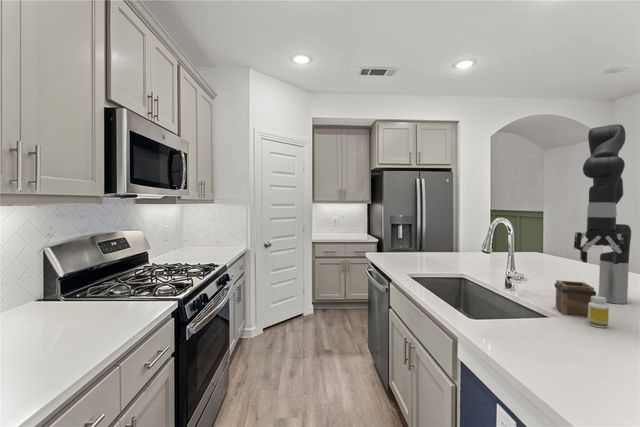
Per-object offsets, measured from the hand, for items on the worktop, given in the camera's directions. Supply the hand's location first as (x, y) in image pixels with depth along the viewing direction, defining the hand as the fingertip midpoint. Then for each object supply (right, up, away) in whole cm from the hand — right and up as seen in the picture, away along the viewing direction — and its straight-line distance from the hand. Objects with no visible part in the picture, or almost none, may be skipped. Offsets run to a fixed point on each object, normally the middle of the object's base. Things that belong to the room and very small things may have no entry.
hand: (599, 263), depth 112 cm
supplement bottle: (0, -22, +1) cm, 22 cm away
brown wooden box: (+2, -21, +14) cm, 25 cm away
